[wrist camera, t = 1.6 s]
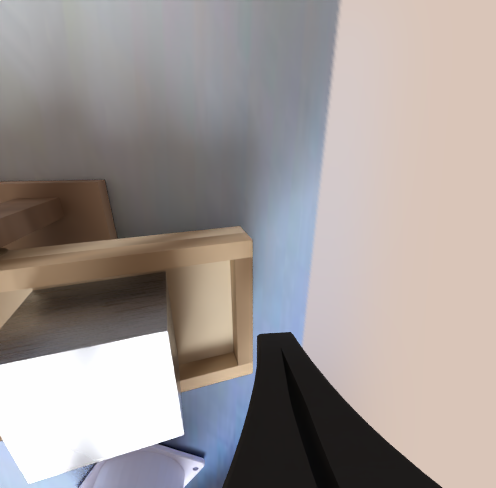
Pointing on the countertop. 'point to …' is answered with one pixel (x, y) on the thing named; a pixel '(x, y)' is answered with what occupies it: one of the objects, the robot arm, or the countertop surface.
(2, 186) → the stand
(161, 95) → the countertop surface
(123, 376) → the block
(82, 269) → the beam
